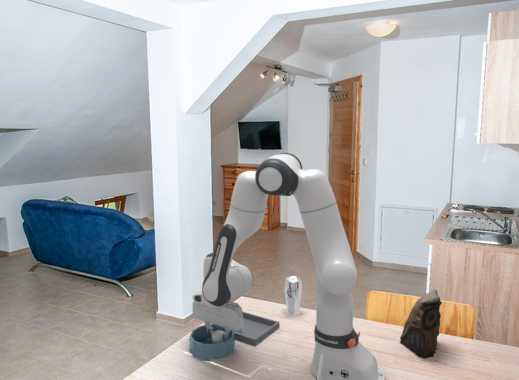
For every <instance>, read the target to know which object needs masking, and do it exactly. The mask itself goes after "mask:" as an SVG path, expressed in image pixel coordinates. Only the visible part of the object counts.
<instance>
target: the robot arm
mask: <svg viewBox="0 0 519 380" xmlns="http://www.w3.org/2000/svg"><path fill="white" fill-rule="evenodd" d="M269 196H277V197H278V196H281V197H282V196H283V197H291V196H294V198H295V200H296V203H297V206H298V210H299V213H300V216H301V220H302V223H303V227H304V230H305V233H306V237H307V241H308V244H309V248H310V251H311V255H312V256H311V257H312V258H313V262H314V266H315V288H316V289H315V291H316V292H315V293H316V295H315V296H316V311H315V312H316V314H315V317H316V319H315V320H316V324H315V326H314V342H315V343H314V352H313V358H312V362H311V365H310V372H311V374H312V375H313V376H314V378H316V380H386V374H385V372H384V370H383V369H381V368H378V363H377V361H378V360H377V358H376V356H375V355H374V354H373V352H371V351H370V350H368V348H367V347H365V346H364V345H363V344H362V343H361V342H360V341H359V339H360V337H361V331H359V332H356V330H355V328H354V296H353V290H354V289H355V286H356V285H357V280H358V270H357V266H356V262H355V260H354V256H353V253H352V249H351V247H350V244H349V240H348V236H347V234H346V231H345V227H344V224H343V221H342V217H341V214H340V210H339V206H338V203H337V200H336V196H335V194H334V191H333V188H332V186H331V183H330V182H329V180H328V178H327V175H326V174H325V173H324V172H323V170H320V169H317V168H312V169H311V168H310V169H303V164H302V162H301V161H300V159H299V158H298V157H297V155H294V154H293V153H289V152H282V153H278V154H275V155H272V156H270V157H268V158H266V159H265V160H263V161H262V162H261V163H260V164H259V165H258V166H257V168H256V170H255V171H254V170H246V171H243V172H241V173H239V175H238V176H237V178H236V180H235V184H234V186H233V189H232V195H231V200H230V205H229V210H228V214H227V216H226V219H225V221H224V224H223V225H222V227H221V229H220V231H219V233H218V236H217V239H216V241H215V242H216V243H215V245H214V250H213V252H210V253H208V254H207V255H206V256H205V257H204V261H203V270H202V271H203V281H202V285H201V286H202V287H201V290H200V291H198V292H196V293H194V294H193V295H192V300H193V302H192V308H191V309H192V316H193V318H194V319H196V320H199V321H202V322H204V323H203V325H205V326H206V328H207V333H209V334H212V332H214V331H213V330H214V328H213V327H212V326H211V324H215V325H218V326H221V327H224V328H225V330H226V332H225V333H223V338H224V339H228V338H229V333H230V331H231V330H233V331H239V330H240V329H242V328H243V326H244V320H243V313H242V311H243V307H242V306H241V305H240V304H239V303H237V302H234V301H232V300H234V299H236V298H238V297H240V296H242V295H243V294H246V293H247V292H249V291H251V290H252V288H253V286H254V275H253V273H252V271H251V269H250V268H249V267H248V266H246V265H245V264H240V263H239V262H237V261H235V260H234V259H233V257H234V256H235V252H236V250H237V249H238V248H239V247H240V246H241V244H243V243H245V241H246V240H247V239H248V238H251V236H253V235H255V233H257V232H258V231H259V230H260V229H261V226H262V224H263V222H264V219H265V215H266V208H267V201H268V198H269Z"/></svg>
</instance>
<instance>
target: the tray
mask: <svg viewBox="0 0 519 380" xmlns="http://www.w3.org/2000/svg"><path fill="white" fill-rule="evenodd" d="M242 313H243V320H244V326H243V328H242V332H241V333H237V332H235V341H238V342H239V341H240V342H242V343H246V344H249V345H252V346H255V347H256V346H258V345H259V344H260V343H261V342H263V341H264V340H265V339H267V338H268V337H269V336H271V335H272V334H273V333H274V332H276V331H278V329H280V321H277V320H274V319H271V318H267V317H263V316H259V315H256V314H253V313H250V312H247V311H243V310H242Z"/></svg>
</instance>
